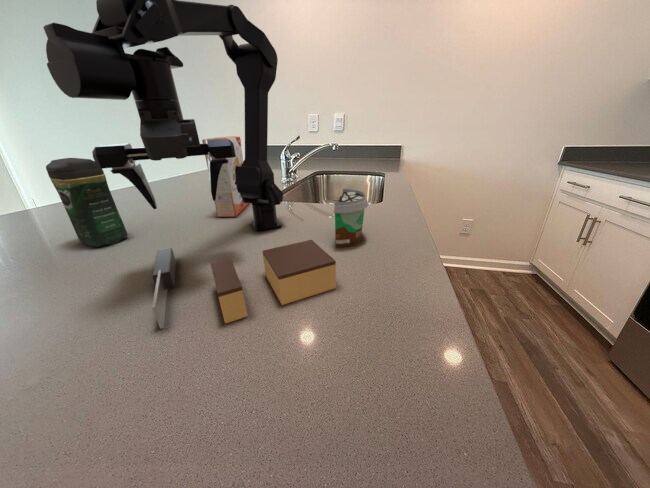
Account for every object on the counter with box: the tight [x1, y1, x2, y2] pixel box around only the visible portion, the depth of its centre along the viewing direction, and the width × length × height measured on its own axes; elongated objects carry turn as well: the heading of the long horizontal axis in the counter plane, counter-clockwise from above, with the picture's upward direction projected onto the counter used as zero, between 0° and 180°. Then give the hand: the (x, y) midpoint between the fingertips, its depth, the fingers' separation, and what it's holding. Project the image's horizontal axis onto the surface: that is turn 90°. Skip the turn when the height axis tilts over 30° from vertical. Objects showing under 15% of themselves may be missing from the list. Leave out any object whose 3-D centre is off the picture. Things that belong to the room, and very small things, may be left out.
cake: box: [261, 239, 337, 306], centre depth 42 cm, size 9×9×5 cm
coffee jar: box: [45, 157, 128, 248], centre depth 57 cm, size 10×8×19 cm
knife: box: [151, 247, 177, 330], centre depth 41 cm, size 20×2×4 cm, turn 27°
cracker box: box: [201, 135, 250, 218], centre depth 75 cm, size 14×6×21 cm, turn 179°
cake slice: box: [210, 257, 249, 324], centre depth 37 cm, size 9×3×5 cm, turn 27°
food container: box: [333, 188, 369, 248], centre depth 56 cm, size 12×6×10 cm, turn 168°
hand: (185, 204), depth 45 cm, fingers open, 9 cm apart
